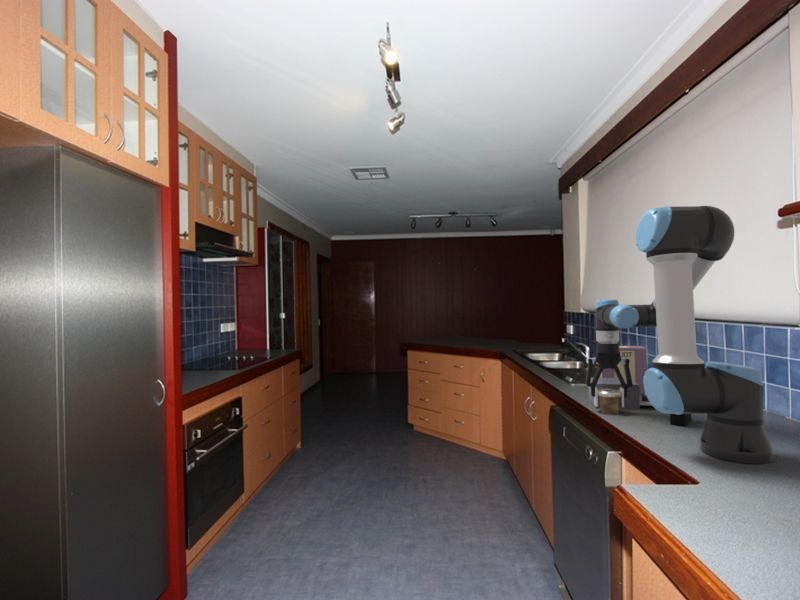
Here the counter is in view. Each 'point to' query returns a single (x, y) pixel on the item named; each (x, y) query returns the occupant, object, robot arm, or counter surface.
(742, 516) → the counter surface
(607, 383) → the housing
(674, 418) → the electronic device
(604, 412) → the wooden block
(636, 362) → the box
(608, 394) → the disc
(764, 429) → the robot arm
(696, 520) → the counter surface
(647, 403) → the tray
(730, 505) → the counter surface
